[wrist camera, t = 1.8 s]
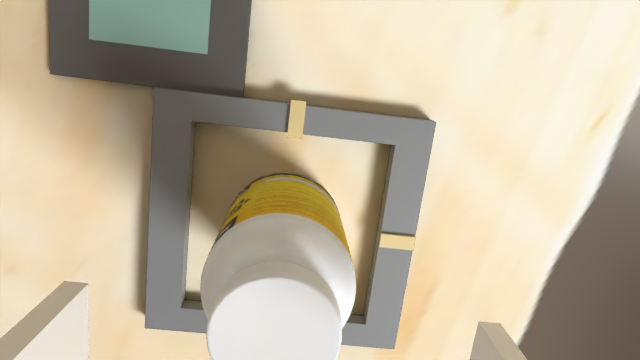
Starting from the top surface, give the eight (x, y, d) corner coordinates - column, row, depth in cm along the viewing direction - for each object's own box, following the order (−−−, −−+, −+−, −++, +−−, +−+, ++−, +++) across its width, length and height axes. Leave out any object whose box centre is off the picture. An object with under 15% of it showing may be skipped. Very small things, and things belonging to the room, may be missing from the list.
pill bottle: (262, 149, 26) (233, 214, 14) (360, 202, 27) (404, 302, 15) (209, 243, 27) (145, 372, 16) (305, 291, 28) (309, 444, 17)
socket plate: (150, 319, 28) (143, 330, 27) (159, 81, 24) (152, 82, 23) (391, 339, 29) (395, 351, 28) (431, 115, 26) (438, 117, 24)
